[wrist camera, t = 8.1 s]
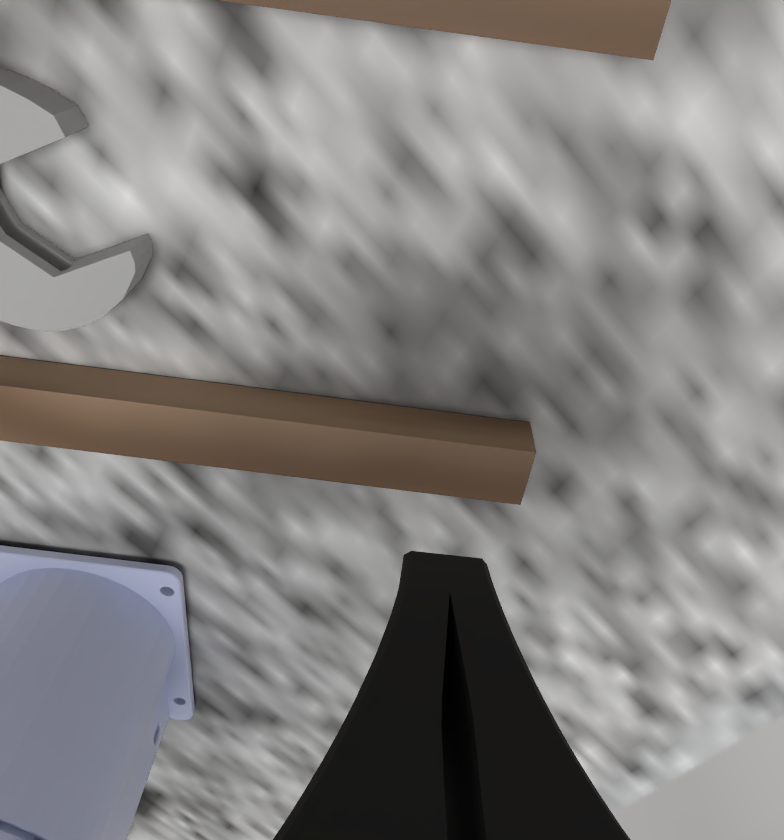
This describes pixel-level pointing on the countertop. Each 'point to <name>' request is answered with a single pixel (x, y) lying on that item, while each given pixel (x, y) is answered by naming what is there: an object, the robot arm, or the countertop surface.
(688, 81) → the countertop surface
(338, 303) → the countertop surface
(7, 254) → the adjustable wrench
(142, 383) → the guide channel
